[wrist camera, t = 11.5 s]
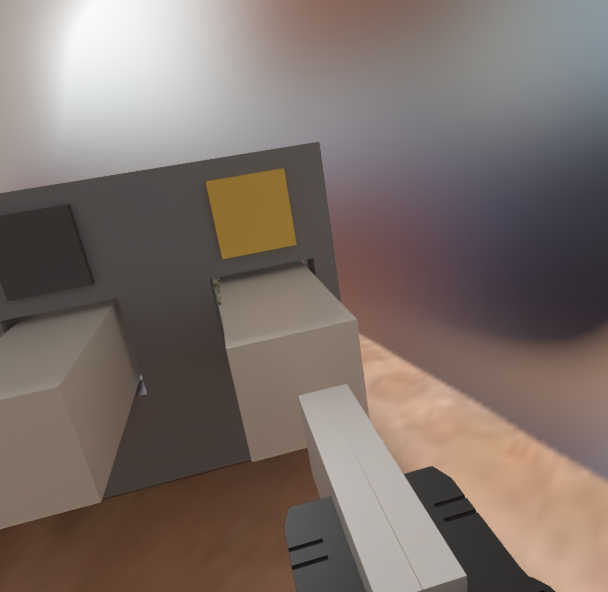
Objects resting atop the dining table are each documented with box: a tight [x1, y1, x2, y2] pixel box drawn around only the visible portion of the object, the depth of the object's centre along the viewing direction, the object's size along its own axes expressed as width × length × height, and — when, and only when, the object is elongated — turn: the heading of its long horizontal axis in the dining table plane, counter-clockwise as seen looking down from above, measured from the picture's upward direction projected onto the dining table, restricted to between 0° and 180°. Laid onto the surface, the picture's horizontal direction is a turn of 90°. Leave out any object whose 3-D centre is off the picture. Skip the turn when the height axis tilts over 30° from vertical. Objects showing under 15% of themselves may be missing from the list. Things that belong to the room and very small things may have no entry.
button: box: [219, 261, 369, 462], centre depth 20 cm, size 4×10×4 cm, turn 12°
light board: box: [0, 142, 341, 499], centre depth 25 cm, size 26×8×16 cm, turn 102°
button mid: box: [0, 297, 141, 529], centre depth 19 cm, size 4×10×4 cm, turn 12°
